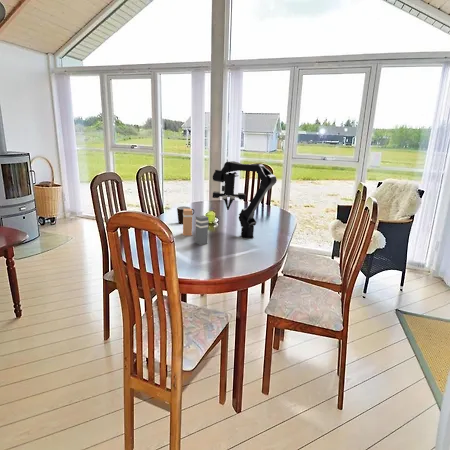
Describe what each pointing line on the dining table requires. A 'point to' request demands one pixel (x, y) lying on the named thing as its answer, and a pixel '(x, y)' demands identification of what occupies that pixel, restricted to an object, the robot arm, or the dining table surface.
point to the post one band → (187, 222)
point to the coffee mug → (181, 213)
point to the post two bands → (201, 230)
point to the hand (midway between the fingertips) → (227, 209)
